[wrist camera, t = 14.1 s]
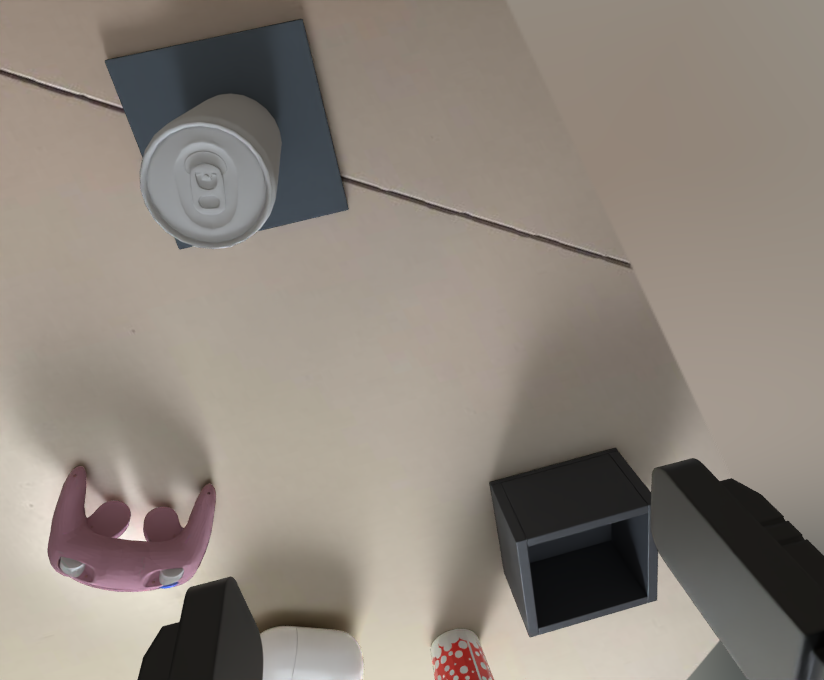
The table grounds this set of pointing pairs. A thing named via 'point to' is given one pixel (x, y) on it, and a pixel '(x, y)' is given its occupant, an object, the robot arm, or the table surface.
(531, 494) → the bin
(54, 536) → the video game controller
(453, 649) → the beverage cup
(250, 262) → the table surface
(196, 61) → the mat
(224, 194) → the beverage can
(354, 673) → the earbud case
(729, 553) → the robot arm
